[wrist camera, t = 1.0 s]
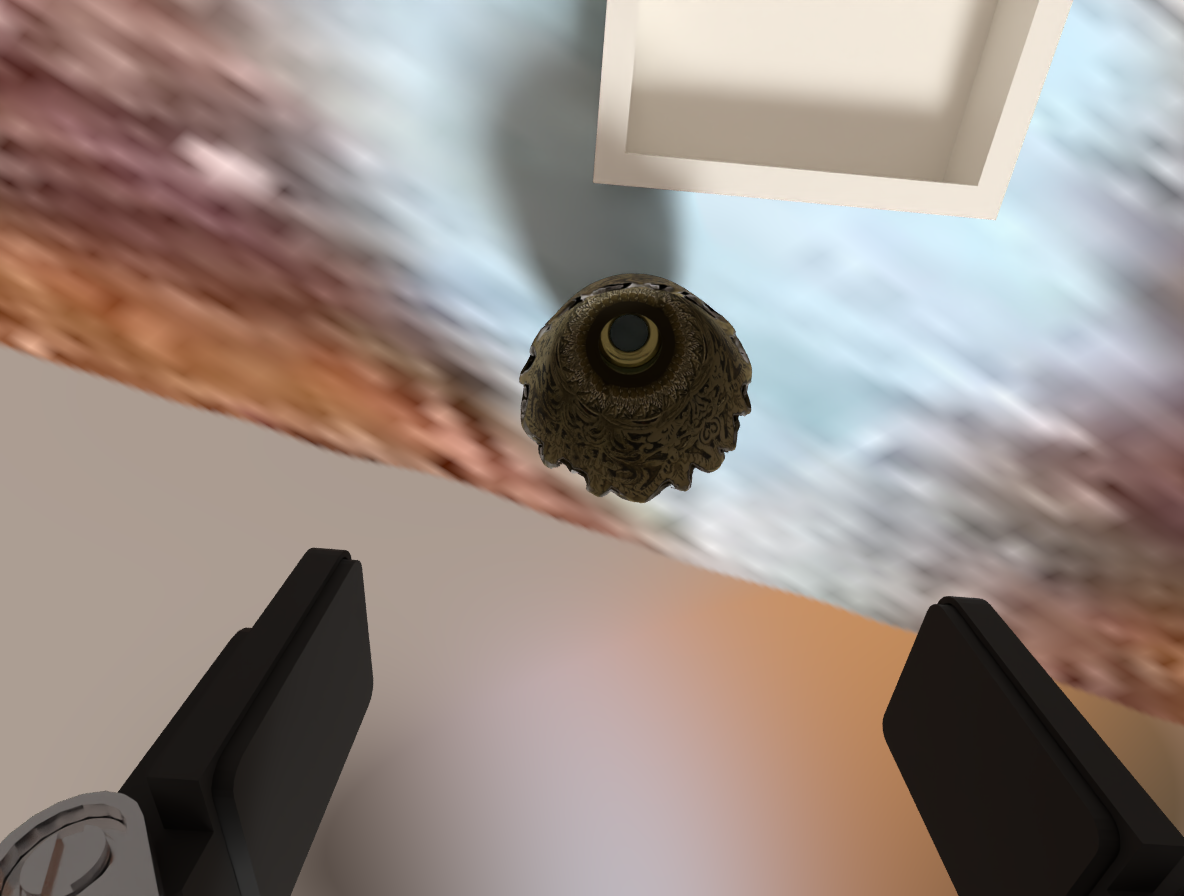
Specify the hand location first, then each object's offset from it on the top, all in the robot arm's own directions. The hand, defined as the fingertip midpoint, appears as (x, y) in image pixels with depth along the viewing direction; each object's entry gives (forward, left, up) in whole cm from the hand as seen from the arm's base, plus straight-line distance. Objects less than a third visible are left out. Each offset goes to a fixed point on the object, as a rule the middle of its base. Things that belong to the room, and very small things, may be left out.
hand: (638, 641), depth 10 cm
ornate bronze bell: (0, 0, -19) cm, 19 cm away
